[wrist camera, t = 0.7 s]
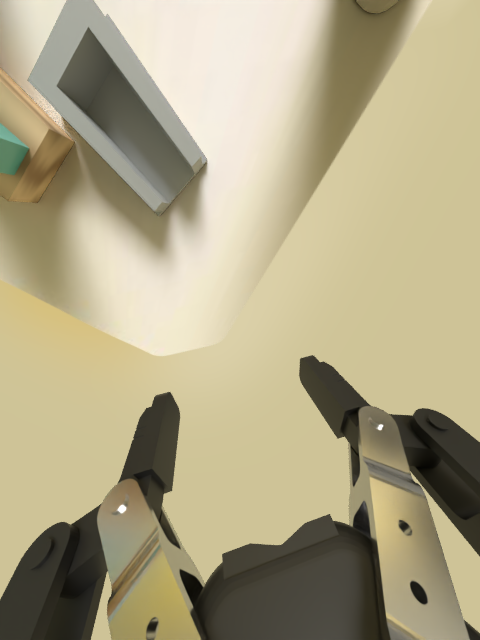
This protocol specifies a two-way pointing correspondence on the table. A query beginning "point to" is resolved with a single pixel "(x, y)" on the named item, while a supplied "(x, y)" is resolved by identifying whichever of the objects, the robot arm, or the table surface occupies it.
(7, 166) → the teal rectangular block
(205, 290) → the table surface
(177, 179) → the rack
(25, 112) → the wooden square base
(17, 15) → the table surface
